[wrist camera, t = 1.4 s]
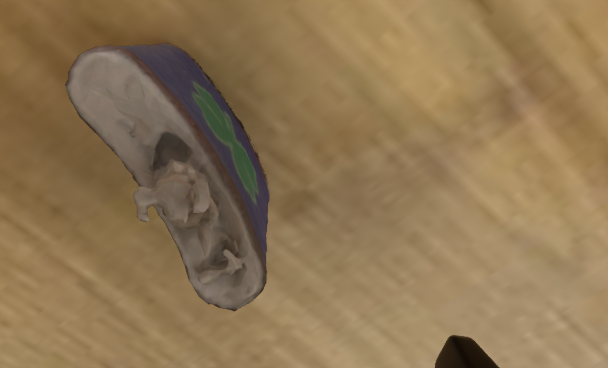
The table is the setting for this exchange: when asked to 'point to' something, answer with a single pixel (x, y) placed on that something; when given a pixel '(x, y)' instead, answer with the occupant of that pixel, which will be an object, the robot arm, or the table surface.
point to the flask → (182, 161)
